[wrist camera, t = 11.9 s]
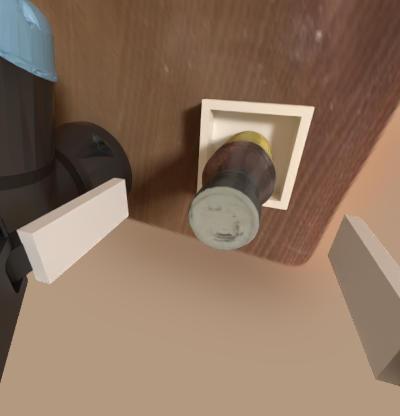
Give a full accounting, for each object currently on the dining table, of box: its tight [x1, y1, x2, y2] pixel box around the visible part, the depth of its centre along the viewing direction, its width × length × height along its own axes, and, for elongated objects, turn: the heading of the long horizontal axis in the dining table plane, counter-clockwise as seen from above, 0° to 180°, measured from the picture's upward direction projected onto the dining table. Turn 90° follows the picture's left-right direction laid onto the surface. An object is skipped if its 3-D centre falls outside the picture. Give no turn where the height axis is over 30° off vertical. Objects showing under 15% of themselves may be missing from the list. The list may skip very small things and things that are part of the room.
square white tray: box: [197, 99, 315, 210], centre depth 28 cm, size 12×12×4 cm
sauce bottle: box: [188, 131, 276, 251], centre depth 21 cm, size 7×6×20 cm
